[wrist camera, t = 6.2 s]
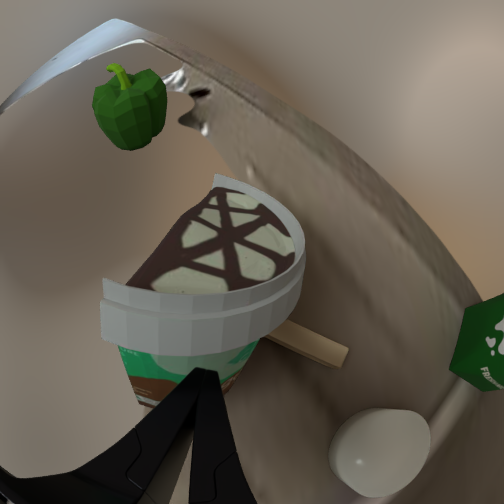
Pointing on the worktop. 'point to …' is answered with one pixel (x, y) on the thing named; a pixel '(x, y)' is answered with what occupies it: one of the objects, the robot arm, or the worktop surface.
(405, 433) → the white domed puck
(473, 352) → the milk carton
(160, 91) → the bell pepper
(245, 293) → the food container
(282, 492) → the worktop surface
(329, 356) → the oak strip
